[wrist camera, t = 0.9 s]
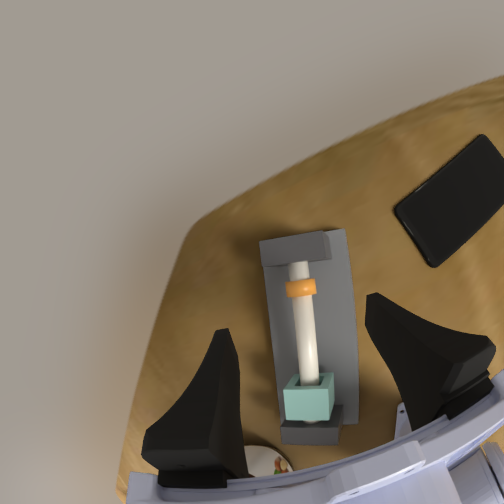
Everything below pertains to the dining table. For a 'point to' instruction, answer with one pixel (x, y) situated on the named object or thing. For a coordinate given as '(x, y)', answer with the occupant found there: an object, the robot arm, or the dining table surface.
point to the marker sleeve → (309, 398)
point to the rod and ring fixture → (313, 326)
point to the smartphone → (454, 201)
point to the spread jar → (266, 461)
